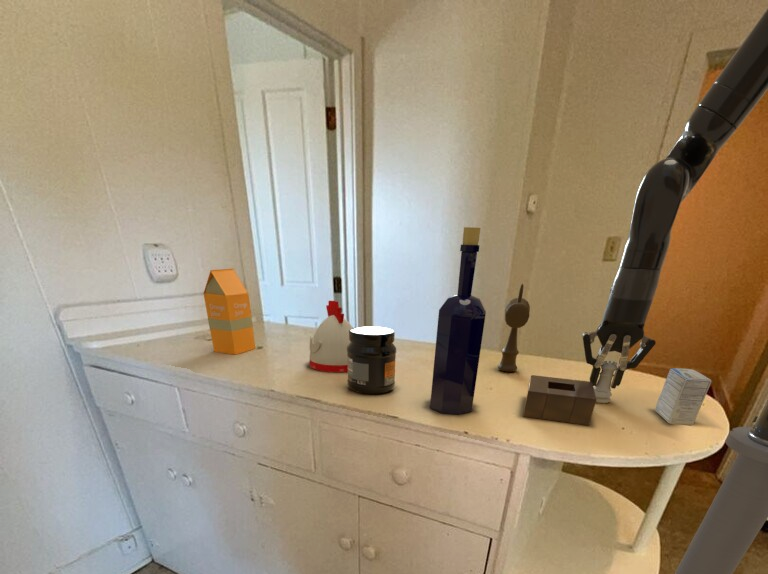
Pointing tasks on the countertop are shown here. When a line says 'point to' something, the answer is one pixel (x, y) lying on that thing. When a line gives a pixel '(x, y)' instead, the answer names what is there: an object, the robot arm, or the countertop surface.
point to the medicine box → (682, 396)
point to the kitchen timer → (331, 342)
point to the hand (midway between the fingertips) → (603, 385)
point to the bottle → (459, 338)
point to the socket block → (560, 400)
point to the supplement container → (371, 360)
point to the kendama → (514, 330)
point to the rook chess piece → (605, 382)
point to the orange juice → (228, 312)
